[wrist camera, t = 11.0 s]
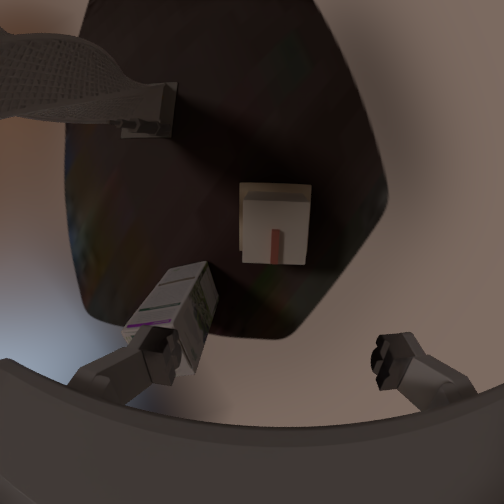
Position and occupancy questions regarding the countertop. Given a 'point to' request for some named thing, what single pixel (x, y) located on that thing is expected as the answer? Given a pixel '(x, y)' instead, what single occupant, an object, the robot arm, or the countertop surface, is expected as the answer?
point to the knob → (275, 227)
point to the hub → (270, 188)
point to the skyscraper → (78, 86)
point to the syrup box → (180, 311)
